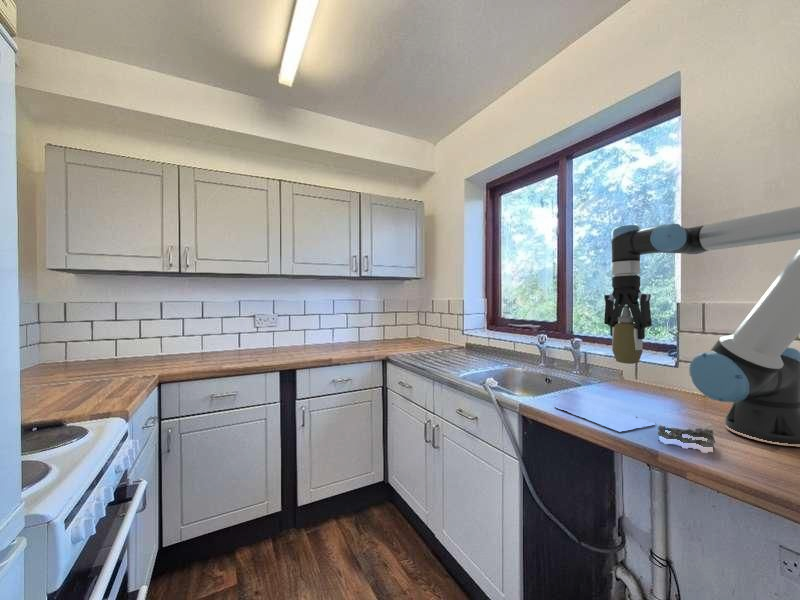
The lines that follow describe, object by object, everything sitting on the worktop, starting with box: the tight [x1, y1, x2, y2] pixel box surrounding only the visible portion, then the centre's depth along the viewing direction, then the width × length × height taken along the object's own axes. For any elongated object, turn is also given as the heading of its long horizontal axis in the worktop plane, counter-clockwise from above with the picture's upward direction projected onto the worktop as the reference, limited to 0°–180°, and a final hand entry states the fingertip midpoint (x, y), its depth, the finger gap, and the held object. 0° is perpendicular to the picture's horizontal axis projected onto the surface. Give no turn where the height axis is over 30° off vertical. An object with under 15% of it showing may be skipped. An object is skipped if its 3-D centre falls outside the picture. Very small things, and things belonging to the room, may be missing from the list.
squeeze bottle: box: [611, 305, 644, 365], centre depth 109 cm, size 8×8×18 cm
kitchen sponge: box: [657, 425, 716, 448], centre depth 83 cm, size 11×8×4 cm
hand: (627, 348), depth 109 cm, fingers closed on squeeze bottle, 6 cm apart
